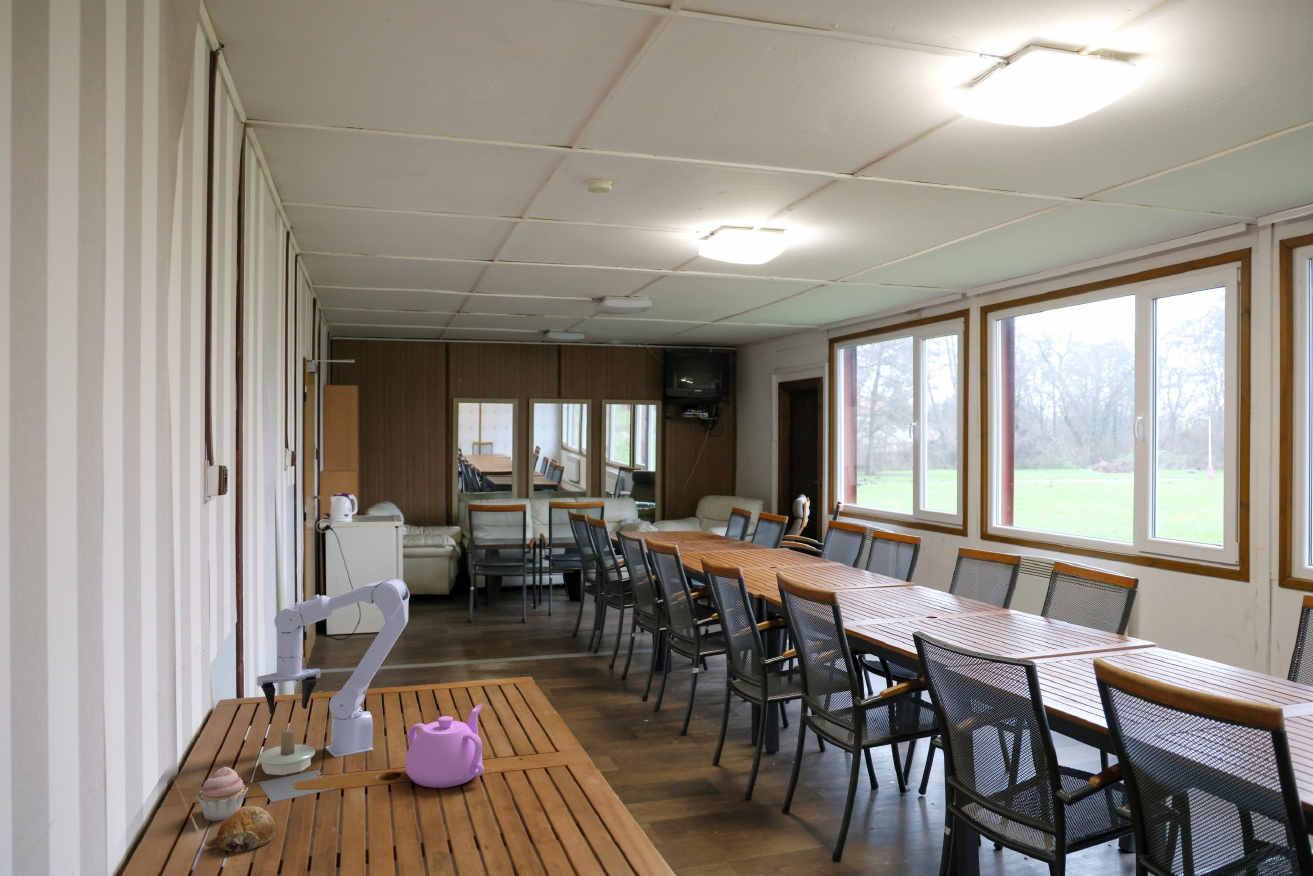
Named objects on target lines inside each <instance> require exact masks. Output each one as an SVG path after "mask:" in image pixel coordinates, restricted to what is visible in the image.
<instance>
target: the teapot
mask: <svg viewBox="0 0 1313 876" xmlns="http://www.w3.org/2000/svg"><path fill="white" fill-rule="evenodd" d="M482 708H483V704H478V705H476V706H475V707H474V708H472V710H471V712H470V713H469V717H468V718H467V719H468V720H467V723H465V722H463V721H458V720H454V717H452V716H447V715H446V716H445V715H444V716H443V715H442V716H440V717H437V721H433V722H430V723H428V724H424V723H415V724H414V725H412V726H411V727H410V728H409V731H408V741H409V748H408V749H407V751H406V753H405V757H406V760H405V772H406V774H407V775H408V777H409V778H410V779H411V781H413V782H414V783H415V784H416V785H419V786H423V787H427V788H440V789H441V788H445V789H447V788H450V787H456V786H459V785H463V784H465V783H468V782H469V781H472V780H473V778H474V777H479V776H482V775H483V774H484V772H485V766H484V764H483V754H482V752H483V742H482V739H481V737H480V736H479V727H478V725H479V724H478V718H479V717H478V716H479V714H480V711H481V709H482ZM417 729H418V730H420V731H419V732H418V734H417Z"/></svg>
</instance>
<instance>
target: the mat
mask: <svg viewBox="0 0 1313 876" xmlns="http://www.w3.org/2000/svg"><path fill="white" fill-rule="evenodd" d="M317 774H319V775H320V774H323V773H322V772H321V771H320V770H319V769H317V770H312V771H307V772H303V773H301V772H300V773H297V774H292V775H288V776H283V777H277V778H271V779H267V780H263V781H258V782H257V783H258V785H259V786H260V788H261V789H262V790H263V792H264V793H265V795H266V796H267V798H268V799H269V801H270V802H271V803H276V802H280V801H281V802H282V801H284V800H289V799H294V798H295V799H296V798H298V797H304V796H308V795H312V794H317V793H323V792H327V791H331V790H335V789H336V788H335V787H334V788H331V789H325V790H324V789H323V790H296V789H294V788H293V787H294V786H295V785H294V786H293V784H294V783H295V782H299V781H306V780H311V779H313V778H315V779H316V778H318V777H320V778H322V777H323V776H324V775H323V776H317Z"/></svg>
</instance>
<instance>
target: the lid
mask: <svg viewBox="0 0 1313 876" xmlns="http://www.w3.org/2000/svg"><path fill="white" fill-rule="evenodd" d="M295 738H296V730H295V729H284V730H283V731H281V732H280V746H275V747H271V748H268V749H266V750H264V751H262V752H261V753H260V754H259V756H258V761H259V762H260V763H261V764H262V763H263V764H267V765H289V764H295V763H299V762H303V761H306V760H308V759H310V758H311V759H312V758H313V757H314V756H315V754H316V749H315V747H313V746H311V745H307V744H296V743H295V742H296V741H295V740H296V739H295Z"/></svg>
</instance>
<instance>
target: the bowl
mask: <svg viewBox="0 0 1313 876" xmlns="http://www.w3.org/2000/svg"><path fill="white" fill-rule="evenodd" d="M311 759H312V758H310V759H308V760H306V761H303V762H299V763H295V764H289V765H267V764H263V763H261V769H262V771H263V772H264V773H265V774H266V775H277V776H286V775H289V774H290V775H291V774H294V773H299V772H300V773H301V772H302V771H304V770H305V769H307V768H309V767H310V766H311Z"/></svg>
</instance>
